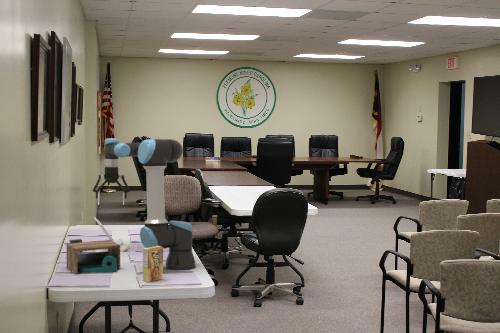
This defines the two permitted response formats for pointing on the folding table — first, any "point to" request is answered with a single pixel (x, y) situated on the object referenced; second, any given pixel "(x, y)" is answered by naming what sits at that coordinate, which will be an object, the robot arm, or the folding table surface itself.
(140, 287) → the folding table surface
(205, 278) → the folding table surface
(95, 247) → the tunnel
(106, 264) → the bracket
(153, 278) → the candy box
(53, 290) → the folding table surface
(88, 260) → the dark grey block
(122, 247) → the tablet stand
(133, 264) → the folding table surface
